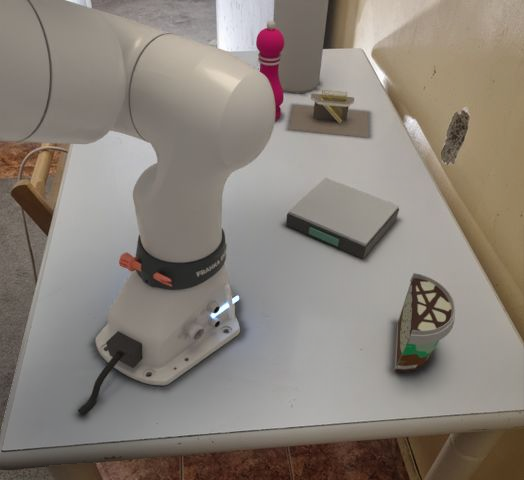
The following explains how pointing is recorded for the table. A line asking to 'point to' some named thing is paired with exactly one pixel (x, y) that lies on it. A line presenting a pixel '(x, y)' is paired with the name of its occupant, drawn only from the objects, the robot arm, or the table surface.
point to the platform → (330, 116)
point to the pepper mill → (271, 60)
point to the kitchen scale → (343, 217)
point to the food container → (422, 322)
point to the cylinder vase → (300, 42)
